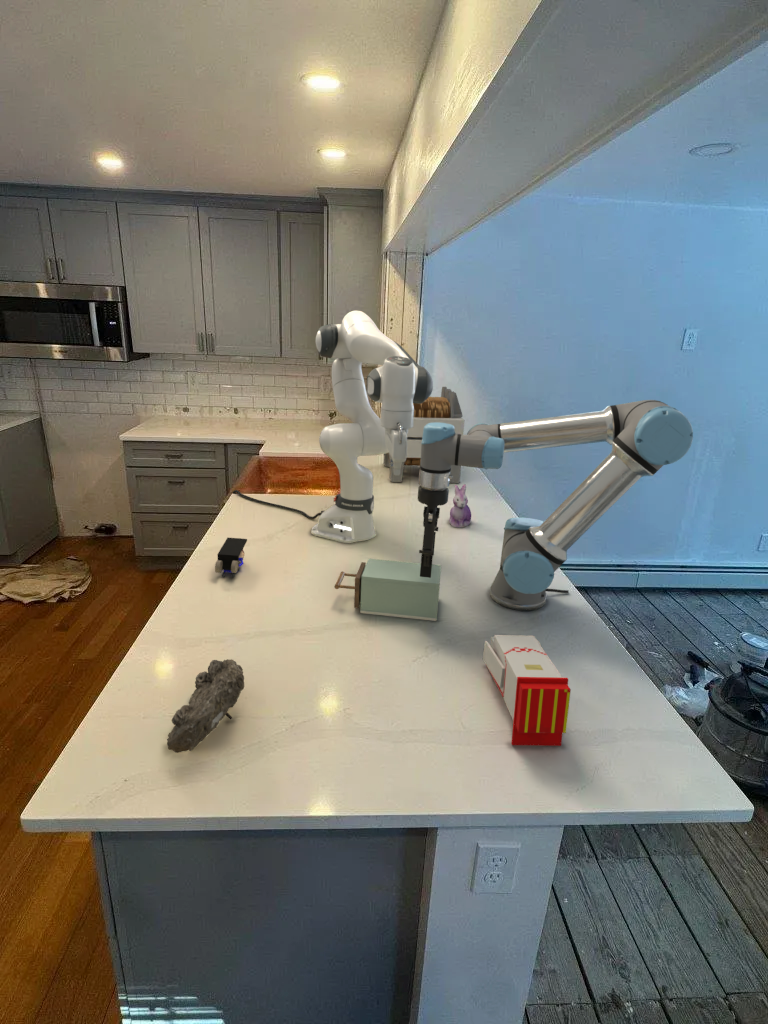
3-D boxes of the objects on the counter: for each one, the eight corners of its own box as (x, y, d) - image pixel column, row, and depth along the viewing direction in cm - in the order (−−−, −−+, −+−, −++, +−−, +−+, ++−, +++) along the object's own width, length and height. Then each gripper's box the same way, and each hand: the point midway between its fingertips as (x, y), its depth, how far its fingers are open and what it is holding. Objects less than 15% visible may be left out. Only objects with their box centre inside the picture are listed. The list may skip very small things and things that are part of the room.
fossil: (192, 660, 117) (244, 628, 112) (224, 691, 120) (276, 661, 115) (142, 746, 98) (202, 712, 93) (182, 779, 101) (242, 748, 96)
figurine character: (238, 584, 162) (249, 557, 175) (236, 562, 158) (247, 536, 172) (215, 584, 161) (227, 556, 175) (212, 561, 158) (225, 535, 171)
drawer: (333, 605, 148) (333, 576, 145) (341, 588, 158) (341, 560, 155) (424, 615, 146) (426, 585, 143) (427, 596, 155) (429, 568, 152)
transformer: (382, 463, 289) (386, 382, 275) (445, 464, 293) (451, 384, 279) (390, 482, 257) (394, 392, 243) (460, 483, 261) (468, 394, 247)
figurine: (457, 529, 205) (460, 490, 200) (441, 520, 214) (444, 482, 209) (478, 526, 210) (482, 487, 205) (462, 517, 218) (465, 480, 213)
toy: (531, 618, 129) (580, 685, 100) (526, 672, 132) (572, 753, 102) (478, 617, 129) (511, 684, 99) (475, 671, 131) (505, 752, 102)
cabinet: (360, 612, 147) (361, 576, 144) (367, 592, 158) (368, 558, 154) (436, 621, 145) (439, 583, 141) (438, 600, 155) (441, 565, 152)
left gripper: (413, 427, 142) (411, 480, 147) (404, 414, 161) (401, 461, 166) (388, 426, 141) (386, 480, 146) (382, 413, 161) (380, 460, 165)
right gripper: (447, 504, 127) (439, 588, 134) (450, 474, 150) (443, 547, 158) (414, 501, 128) (408, 585, 135) (422, 471, 151) (416, 544, 158)
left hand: (394, 470), depth 156 cm, fingers open, 8 cm apart
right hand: (427, 565), depth 146 cm, fingers open, 13 cm apart
